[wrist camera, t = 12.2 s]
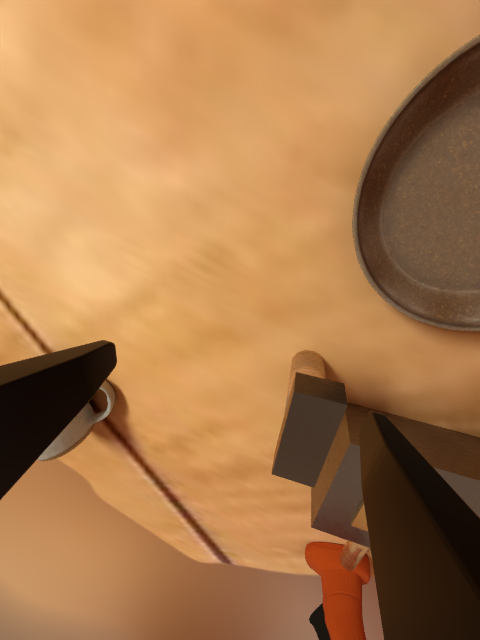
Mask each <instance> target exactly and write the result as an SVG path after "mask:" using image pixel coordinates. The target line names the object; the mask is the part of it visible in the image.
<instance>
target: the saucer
mask: <svg viewBox="0 0 480 640" xmlns="http://www.w3.org/2000/svg"><path fill="white" fill-rule="evenodd" d="M353 238H354V245H355V251H356V254H357V258H358V261H359V264H360V266H361V269H362V270H363V273H364V274H365V276H366V278H367V280H368V281H369V283H370V284H371V285H372V287H373V288H374V289H375V290H376V292H377V293H378V294H379V295H380V296H381V297H382V298H383V299H384V300H385V301H386V302H388V303H389V304H390V305H392V306H393V307H394V308H395V309H397V310H398V311H400V312H401V313H403V314H405V315H407V316H409V317H411V318H413V319H415V320H417V321H420V322H422V323H425V324H429V325H432V326H436V327H440V328H445V329H451V330H459V331H480V35H479V36H477V37H475V38H474V39H472V40H471V41H469V42H468V43H467V44H465V45H464V46H462V47H461V48H459V49H458V50H457V51H455V52H454V53H453V54H451V55H450V56H449V57H448V58H446V59H445V60H444V61H443V62H442V63H440V64H439V65H438V66H437V67H436V68H435V69H434V70H432V71H431V72H430V73H429V74H428V75H427V76H426V77H425V78H424V79H423V80H422V81H421V82H420V83H419V84H418V85H417V86H416V87H415V88H414V89H413V90H412V91H411V93H410V94H409V95H408V96H407V97H406V99H405V100H404V101H403V102H402V103H401V105H400V106H399V107H398V109H397V110H396V111H395V112H394V114H393V115H392V117H391V118H390V119H389V121H388V122H387V124H386V125H385V127H384V128H383V130H382V132H381V133H380V135H379V136H378V138H377V140H376V142H375V144H374V146H373V148H372V149H371V151H370V153H369V155H368V157H367V160H366V162H365V165H364V167H363V170H362V173H361V176H360V179H359V183H358V187H357V191H356V195H355V200H354V208H353Z"/></svg>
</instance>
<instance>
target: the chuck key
mask: <svg viewBox="0 0 480 640" xmlns="http://www.w3.org/2000/svg"><path fill="white" fill-rule="evenodd" d="M347 406H348V405H347V398H346V392H345V386H344V384H343V383H339V382H335V381H331V380H327V379H326V378H325V364H324V360H323V358H322V357H321V356H320V355H319V354H317V353H316V352H313V351H301V352H299V353H297V354H296V355H295V356H294V357H293V359H292V364H291V371H290V378H289V386H288V393H287V401H286V408H285V415H284V419H283V423H282V427H281V431H280V434H279V438H278V442H277V446H276V450H275V455H274V462H273V468H272V474H273V475H276V476H279V477H282V478H286V479H289V480H292V481H295V482H298V483H301V484H304V485H307V486H310V487H313V488H314V487H315V485H316V482H317V480H318V477H319V475H320V472H321V470H322V467H323V465H324V462H325V460H326V457H327V455H328V453H329V450H330V448H331V445H332V443H333V440H334V438H335V435H336V433H337V430H338V428H339V425H340V423H341V420H342V418H343V415H344V413H345V411H346V408H347Z"/></svg>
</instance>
